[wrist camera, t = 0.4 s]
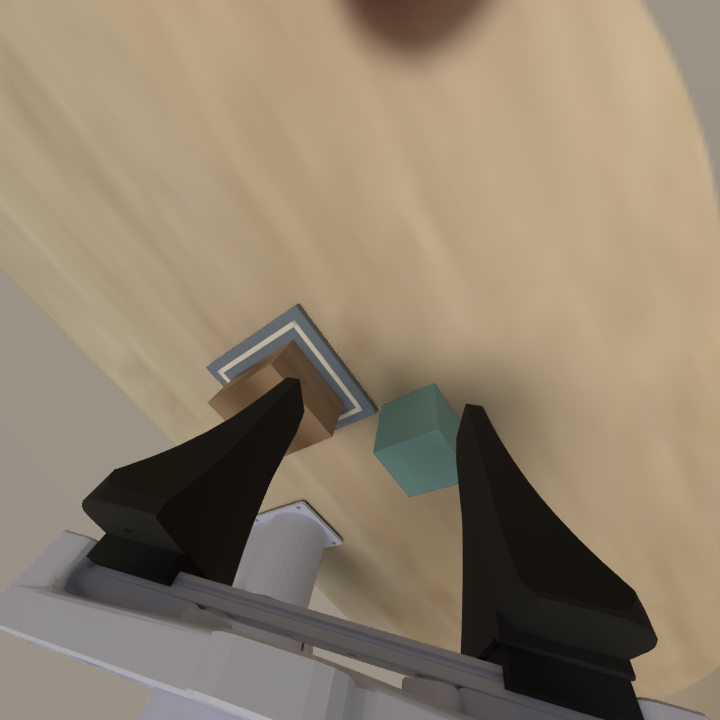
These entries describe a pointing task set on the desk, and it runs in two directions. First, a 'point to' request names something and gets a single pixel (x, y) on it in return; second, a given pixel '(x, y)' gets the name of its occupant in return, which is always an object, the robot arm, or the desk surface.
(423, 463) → the teal block
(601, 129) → the desk surface
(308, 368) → the walnut base block
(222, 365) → the mat
